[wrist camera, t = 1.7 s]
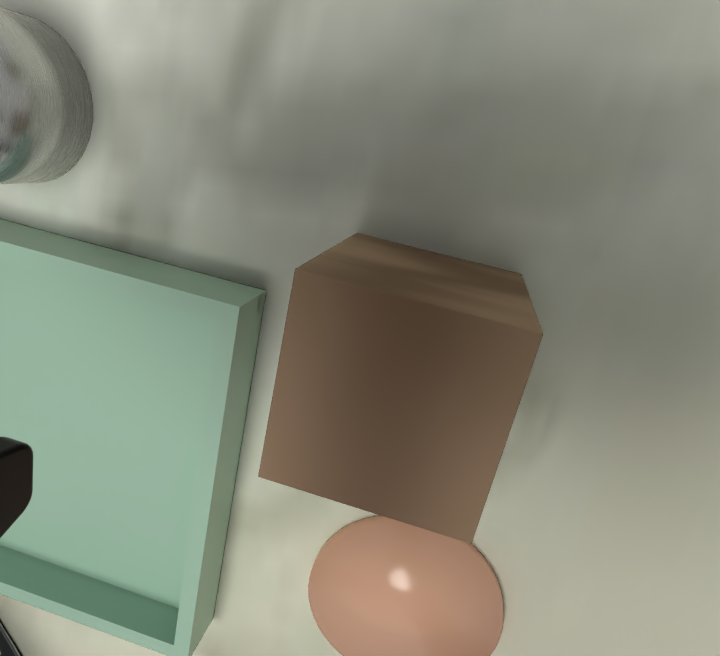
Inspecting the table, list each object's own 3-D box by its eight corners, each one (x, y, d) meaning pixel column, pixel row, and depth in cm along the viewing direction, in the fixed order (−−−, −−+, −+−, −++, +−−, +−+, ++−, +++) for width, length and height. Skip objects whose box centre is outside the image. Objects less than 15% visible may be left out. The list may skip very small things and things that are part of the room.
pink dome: (528, 545, 19) (530, 560, 18) (472, 690, 21) (472, 710, 20) (334, 484, 20) (328, 496, 19) (299, 629, 22) (293, 646, 21)
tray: (266, 290, 18) (239, 306, 16) (213, 618, 22) (187, 662, 20) (-104, 191, 20) (-169, 194, 18) (-84, 513, 24) (-134, 544, 22)
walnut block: (520, 273, 16) (543, 334, 11) (474, 423, 18) (470, 543, 12) (357, 233, 17) (295, 268, 11) (325, 380, 18) (258, 476, 13)
